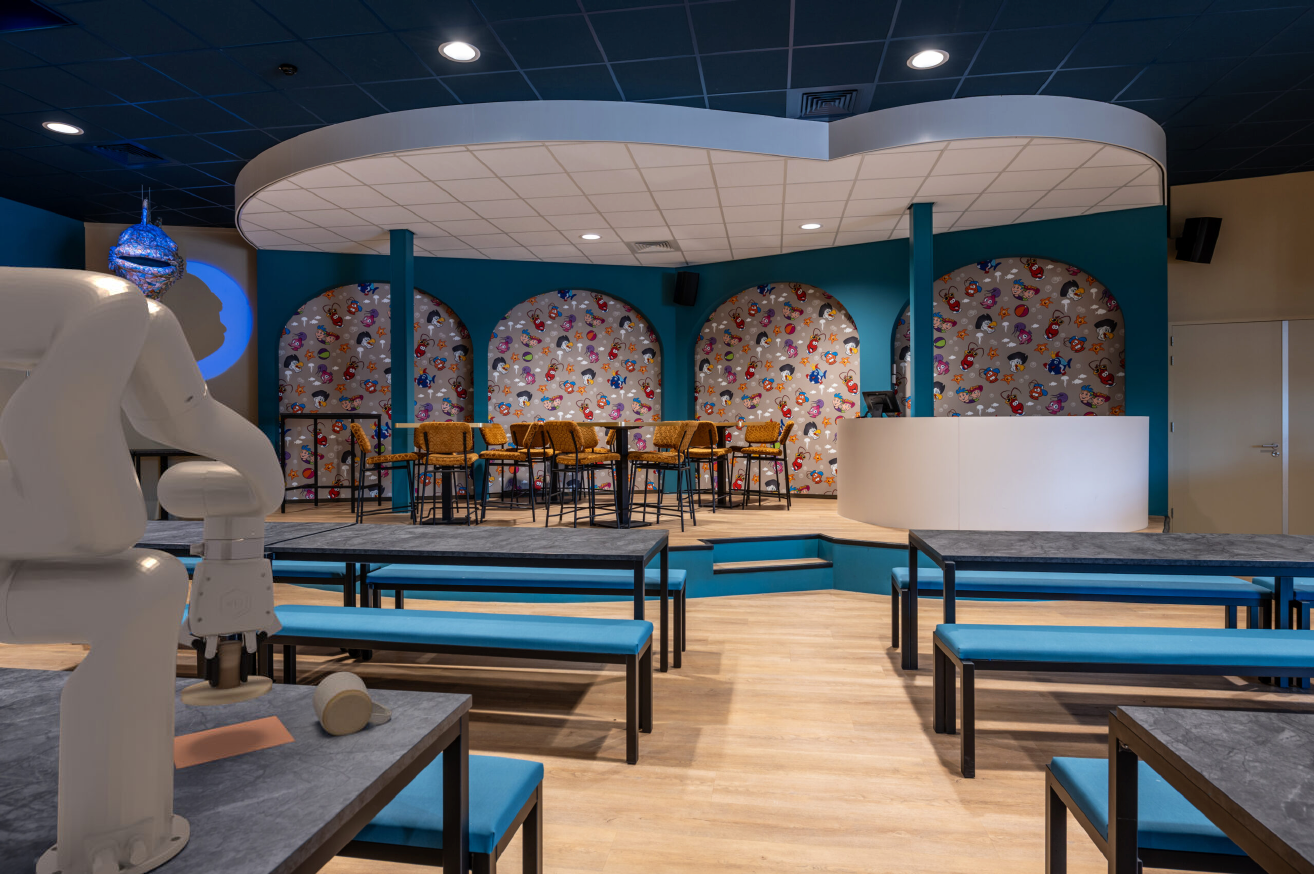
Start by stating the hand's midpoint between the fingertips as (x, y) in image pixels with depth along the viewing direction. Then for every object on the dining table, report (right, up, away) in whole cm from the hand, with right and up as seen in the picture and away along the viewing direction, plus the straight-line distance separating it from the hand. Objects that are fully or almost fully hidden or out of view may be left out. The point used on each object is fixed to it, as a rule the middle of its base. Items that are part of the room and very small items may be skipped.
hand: (228, 681), depth 99 cm
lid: (0, -2, 0) cm, 2 cm away
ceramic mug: (+14, -10, +8) cm, 19 cm away
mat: (0, -9, +1) cm, 9 cm away
